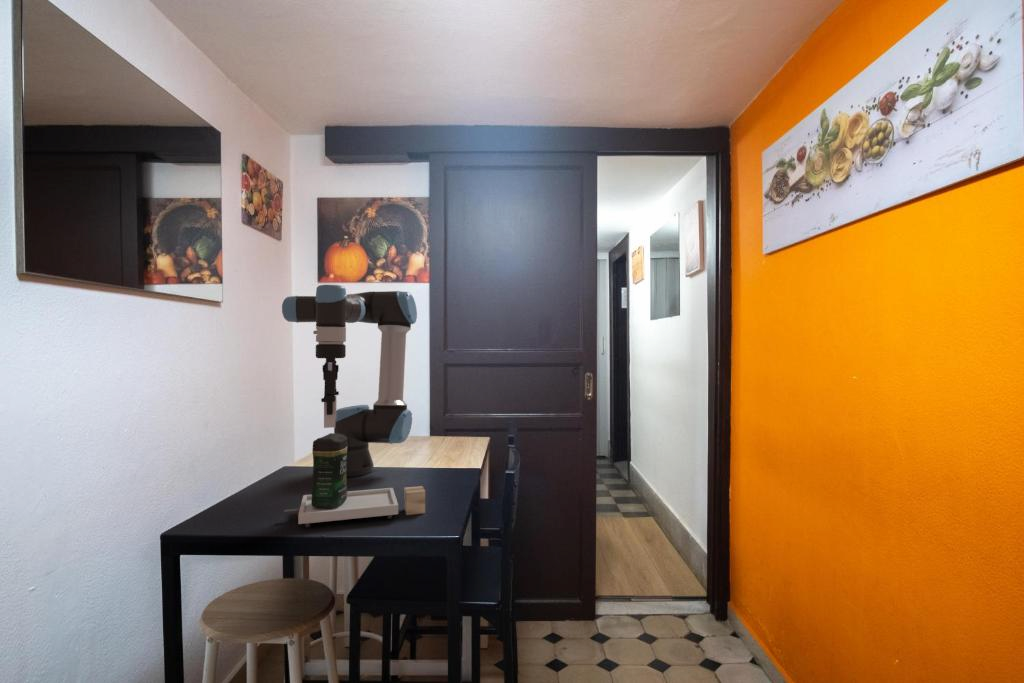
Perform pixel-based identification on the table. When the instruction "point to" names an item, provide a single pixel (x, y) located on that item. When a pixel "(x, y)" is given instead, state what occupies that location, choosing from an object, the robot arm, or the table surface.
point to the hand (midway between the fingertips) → (330, 423)
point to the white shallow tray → (349, 507)
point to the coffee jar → (329, 471)
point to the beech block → (414, 500)
